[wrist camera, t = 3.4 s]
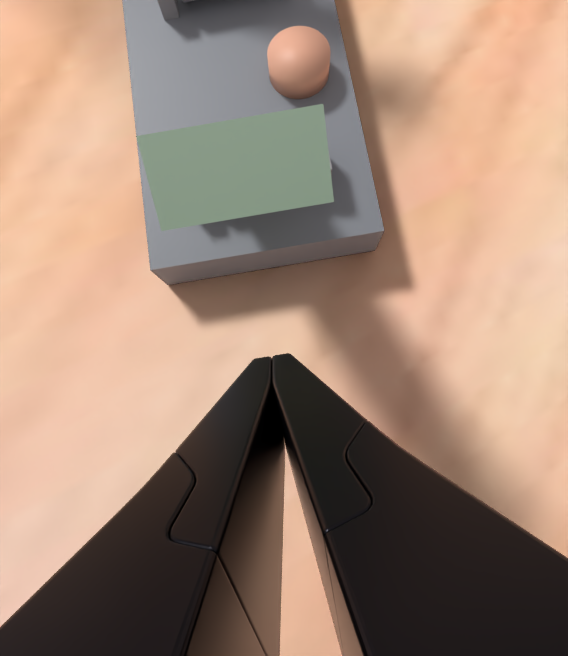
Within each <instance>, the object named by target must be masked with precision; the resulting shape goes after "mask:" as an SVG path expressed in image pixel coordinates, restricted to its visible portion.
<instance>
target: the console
mask: <svg viewBox="0 0 568 656" xmlns="http://www.w3.org/2000/svg"><path fill="white" fill-rule="evenodd" d="M122 1H123V11H124V21H125V30H126V40H127V49H128V59H129V69H130V78H131V88H132V98H133V107H134V117H135V127H136V136H140V135H146V134H151V133H157V132H163V131H169V130H174V129H180V128H186V127H192V126H198V125H203V124H209V123H215V122H221V121H226V120H232V119H238V118H244V117H250V116H255V115H261V114H267V113H273V112H278V111H284V110H290V109H296V108H302V107H307V106H313V105H319V104H323V105H324V114H325V124H326V133H327V142H328V151H329V160H330V169H331V179H332V188H333V197H334V202H331V203H325V204H319V205H313V206H307V207H301V208H295V209H289V210H283V211H277V212H272V213H266V214H260V215H254V216H248V217H242V218H236V219H230V220H224V221H218V222H212V223H207V224H201V225H195V226H189V227H183V228H177V229H171V230H165V231H161V228H160V224H159V220H158V217H157V213H156V209H155V205H154V201H153V198H152V194H151V190H150V186H149V183H148V179H147V175H146V171H145V168H144V164H143V160H142V156H141V152H140V149H139V145H138V141H137V146H138V156H139V165H140V175H141V184H142V194H143V204H144V213H145V223H146V233H147V242H148V252H149V262H150V270H151V271H152V272H153V273H154V274H155V275H157V276H158V277H159V278H160V279H161V280H162V281H164V282H165V283H166V284H167V285H171V284H177V283H183V282H189V281H195V280H201V279H207V278H213V277H219V276H225V275H231V274H237V273H243V272H249V271H255V270H261V269H267V268H273V267H279V266H285V265H291V264H297V263H303V262H309V261H315V260H321V259H327V258H333V257H339V256H345V255H351V254H357V253H363V252H369V251H375V249H376V247H377V245H378V243H379V241H380V239H381V237H382V235H383V233H384V227H383V222H382V218H381V213H380V208H379V204H378V199H377V195H376V190H375V185H374V181H373V176H372V172H371V167H370V162H369V158H368V153H367V149H366V144H365V139H364V135H363V130H362V125H361V121H360V116H359V112H358V107H357V102H356V98H355V93H354V89H353V84H352V79H351V75H350V70H349V66H348V61H347V56H346V52H345V47H344V42H343V38H342V33H341V29H340V24H339V19H338V15H337V10H336V6H335V1H334V0H196V1H191V2H185V3H183V1H182V0H122Z"/></svg>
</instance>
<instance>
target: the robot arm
mask: <svg viewBox="0 0 568 656" xmlns="http://www.w3.org/2000/svg"><path fill="white" fill-rule="evenodd" d="M284 440H285V441H284ZM285 445H286V449H287V453H288V457H289V461H290V465H291V468H292V472H293V476H294V479H295V483H296V487H297V491H298V494H299V498H300V502H301V505H302V509H303V513H304V516H305V520H306V524H307V527H308V531H309V535H310V538H311V542H312V546H313V549H314V553H315V557H316V561H317V564H318V568H319V572H320V575H321V579H322V583H323V586H324V590H325V594H326V597H327V601H328V605H329V608H330V612H331V616H332V619H333V623H334V627H335V630H336V634H337V638H338V642H339V645H340V649H341V653H342V656H568V558H567V557H565V556H564V555H562V554H561V553H559V552H558V551H556V550H555V549H553V548H552V547H550V546H549V545H547V544H546V543H544V542H543V541H541V540H540V539H538V538H537V537H535V536H533V535H532V534H530V533H529V532H527V531H526V530H524V529H523V528H521V527H520V526H518V525H517V524H515V523H514V522H512V521H511V520H509V519H508V518H506V517H505V516H503V515H502V514H500V513H499V512H497V511H496V510H494V509H493V508H491V507H490V506H488V505H487V504H485V503H484V502H482V501H481V500H479V499H477V498H476V497H474V496H473V495H471V494H470V493H468V492H467V491H465V490H464V489H462V488H461V487H459V486H458V485H456V484H455V483H453V482H452V481H450V480H449V479H447V478H446V477H444V476H443V475H441V474H440V473H438V472H437V471H435V470H434V469H432V468H431V467H429V466H428V465H426V464H424V463H423V462H422V461H420V460H419V459H417V458H416V457H414V456H413V455H412V454H410V453H409V452H407V451H406V450H404V449H403V448H402V447H400V446H399V445H398V444H396V443H395V442H394V441H393V440H391V439H390V438H389V437H388V436H386V435H385V434H384V433H383V432H381V431H380V430H379V429H378V428H377V427H375V426H374V425H373V424H372V423H371V422H369V421H367V419H365V418H364V417H363V416H362V415H361V414H360V413H358V412H357V411H356V410H355V409H354V408H353V407H351V406H350V405H349V404H348V403H347V402H346V401H345V400H343V399H342V398H341V397H340V396H339V395H338V394H336V393H335V392H334V391H333V390H332V389H331V388H329V387H328V386H327V385H326V384H325V383H324V382H323V381H321V380H320V379H319V378H318V377H317V376H316V375H314V374H313V373H312V372H311V371H310V370H309V369H307V368H306V367H305V366H304V365H303V364H302V363H300V362H299V361H298V360H297V359H296V358H295V357H294V356H292V355H291V354H289V353H287V354H281V355H275V356H273V358H271V357H263V358H256V359H254V360H252V362H251V363H250V364H249V365H248V366H247V367H246V369H245V370H244V371H243V372H242V373H241V374H240V376H239V377H238V378H237V379H236V380H235V382H234V383H233V384H232V385H231V386H230V387H229V389H228V390H227V391H226V392H225V393H224V394H223V396H222V397H221V398H220V399H219V400H218V401H217V403H216V404H215V405H214V406H213V407H212V409H211V410H210V411H209V412H208V413H207V414H206V416H205V417H204V418H203V419H202V420H201V421H200V423H199V424H198V425H197V426H196V427H195V429H194V430H193V431H192V432H191V433H190V434H189V436H188V437H187V438H186V439H185V440H184V441H183V443H182V444H181V445H180V446H179V447H178V449H177V450H176V453H172V455H171V456H170V457H169V458H168V459H167V460H166V462H165V463H164V464H163V465H162V466H161V467H160V468H159V470H158V471H157V472H156V473H155V474H154V475H153V476H152V477H151V478H150V480H149V481H148V482H147V483H146V484H145V485H144V486H143V487H142V488H141V489H140V490H139V491H138V492H137V493H136V494H135V495H134V496H133V498H132V499H131V500H130V501H129V502H128V503H127V504H126V505H125V506H124V507H123V508H122V509H121V510H120V511H119V512H118V513H117V514H116V515H115V516H114V517H113V518H112V519H111V520H109V521H108V522H107V523H106V524H105V525H104V526H103V527H102V528H101V529H100V530H99V531H98V532H97V533H96V534H95V535H94V536H93V537H92V538H91V539H90V540H89V541H88V542H87V543H86V544H85V545H84V546H83V547H82V548H81V549H80V550H79V551H78V552H77V553H76V554H75V555H74V556H73V557H72V558H71V559H70V560H69V561H67V562H66V563H65V564H64V565H63V566H62V567H61V568H60V569H59V570H58V571H57V572H56V573H55V574H54V575H53V576H52V577H51V578H50V579H49V580H48V581H47V582H46V583H45V584H44V585H43V586H42V587H41V588H40V589H39V590H38V591H37V592H36V593H35V594H34V595H33V596H32V597H31V598H30V599H29V600H28V601H27V602H25V603H24V604H23V605H22V606H21V607H20V608H19V609H18V610H17V611H16V612H15V613H14V614H13V615H12V616H11V617H10V618H9V619H8V620H7V621H6V622H5V623H4V624H3V625H2V626H1V627H0V656H280V620H281V584H282V548H283V511H284V475H285Z"/></svg>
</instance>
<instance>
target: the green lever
mask: <svg viewBox="0 0 568 656" xmlns="http://www.w3.org/2000/svg"><path fill="white" fill-rule="evenodd" d="M136 137H137V141H138V145H139V149H140V152H141V156H142V160H143V164H144V168H145V171H146V175H147V179H148V183H149V186H150V190H151V194H152V198H153V201H154V205H155V209H156V213H157V217H158V220H159V224H160V228H161V231H165V230H171V229H177V228H183V227H189V226H195V225H201V224H207V223H212V222H218V221H224V220H230V219H236V218H242V217H248V216H254V215H260V214H266V213H272V212H277V211H283V210H289V209H295V208H301V207H307V206H313V205H319V204H325V203H331V202H334V197H333V188H332V179H331V169H330V160H329V151H328V142H327V133H326V124H325V114H324V105H323V104H319V105H313V106H307V107H302V108H296V109H290V110H284V111H278V112H273V113H267V114H261V115H255V116H250V117H244V118H238V119H232V120H226V121H221V122H215V123H209V124H203V125H198V126H192V127H186V128H180V129H174V130H169V131H163V132H157V133H151V134H146V135H140V136H136Z"/></svg>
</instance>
